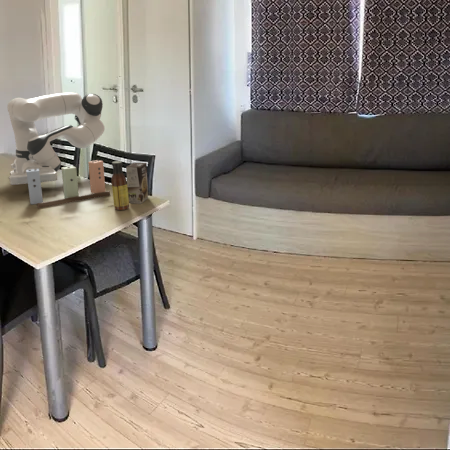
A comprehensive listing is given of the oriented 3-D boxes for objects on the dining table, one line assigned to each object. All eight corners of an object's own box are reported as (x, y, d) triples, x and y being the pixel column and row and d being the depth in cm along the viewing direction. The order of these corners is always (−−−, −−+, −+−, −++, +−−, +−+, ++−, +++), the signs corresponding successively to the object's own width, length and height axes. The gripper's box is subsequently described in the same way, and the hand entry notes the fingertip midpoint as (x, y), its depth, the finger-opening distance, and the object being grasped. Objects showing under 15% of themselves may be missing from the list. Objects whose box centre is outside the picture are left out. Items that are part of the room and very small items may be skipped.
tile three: (90, 192, 249) (88, 161, 245) (99, 189, 253) (97, 159, 248) (96, 193, 247) (94, 162, 242) (105, 191, 250) (103, 160, 246)
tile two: (30, 201, 235) (26, 169, 231) (42, 200, 237) (38, 168, 232) (30, 204, 232) (26, 171, 227) (43, 203, 233) (39, 170, 229)
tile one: (64, 199, 239) (61, 166, 235) (75, 197, 242) (72, 165, 237) (68, 201, 236) (64, 168, 231) (79, 199, 239) (76, 167, 234)
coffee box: (141, 204, 236) (139, 167, 230) (127, 203, 237) (125, 166, 232) (148, 198, 244) (147, 162, 239) (135, 197, 245) (133, 161, 240)
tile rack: (24, 203, 237) (24, 197, 236) (101, 190, 256) (100, 184, 255) (35, 211, 226) (34, 204, 225) (113, 197, 245) (113, 191, 244)
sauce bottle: (131, 206, 233) (128, 160, 226) (127, 211, 227) (124, 163, 220) (115, 206, 233) (112, 160, 227) (111, 210, 227) (108, 163, 221)
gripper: (7, 169, 249) (8, 176, 237) (54, 165, 256) (57, 172, 243) (9, 183, 251) (10, 191, 239) (56, 179, 258) (59, 186, 245)
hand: (34, 181), depth 241 cm, fingers closed
